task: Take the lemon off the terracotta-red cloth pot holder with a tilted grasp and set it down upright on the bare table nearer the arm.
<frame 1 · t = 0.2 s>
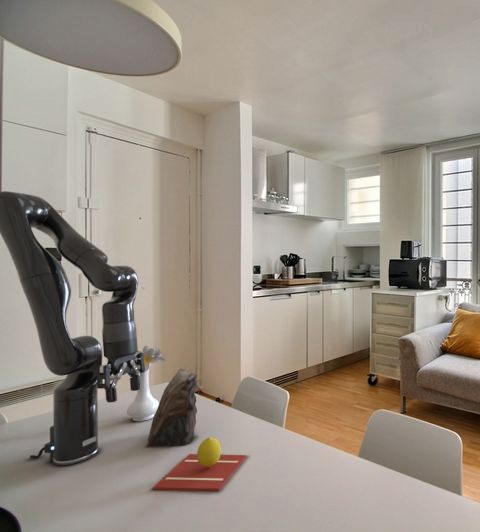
hand: (124, 395, 102), 17 cm above the table, tool pointing down, fingers open, 8 cm apart
brown rock: (172, 439, 113), on the table
pot holder: (203, 472, 96), on the table
flower vase: (141, 418, 127), on the table
lemon: (209, 468, 97), resting on pot holder
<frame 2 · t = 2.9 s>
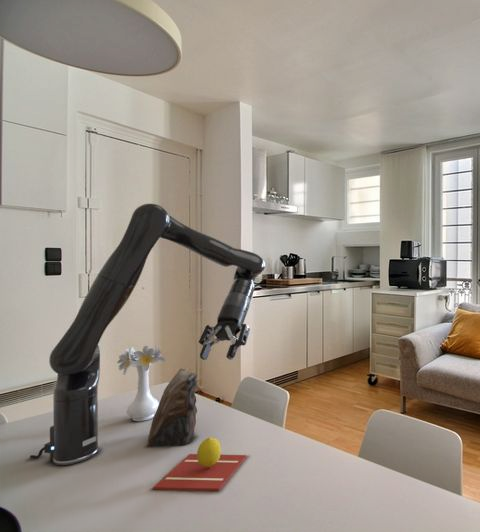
hand: (216, 358, 106), 27 cm above the table, tool tilted 40°, fingers open, 8 cm apart
nothing on the table moved.
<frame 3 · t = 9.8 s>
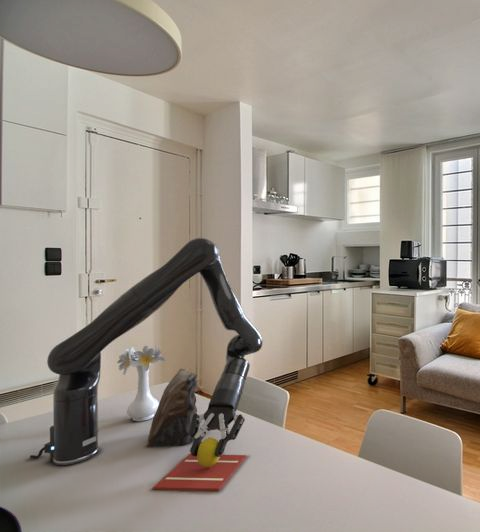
hand: (205, 455, 95), 5 cm above the table, tool tilted 45°, fingers closed on lemon, 5 cm apart
lemon: (209, 468, 97), resting on pot holder, touching gripper
everything else where it was.
when the fingers open (4 cm above the table, at t = 18.4 s): lemon stays where it is, on the table.
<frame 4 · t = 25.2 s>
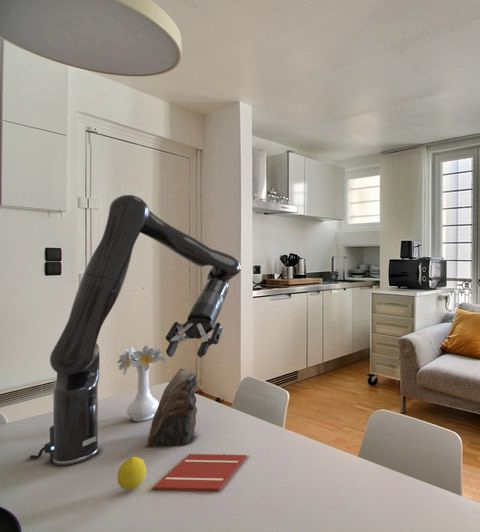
hand: (184, 355, 102), 29 cm above the table, tool tilted 45°, fingers open, 8 cm apart
lemon: (132, 490, 88), on the table
everything else where it was.
at the end: lemon inside the target area (0.1 cm from its centre), on the table; lemon touching table; lemon tilted 0° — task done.
